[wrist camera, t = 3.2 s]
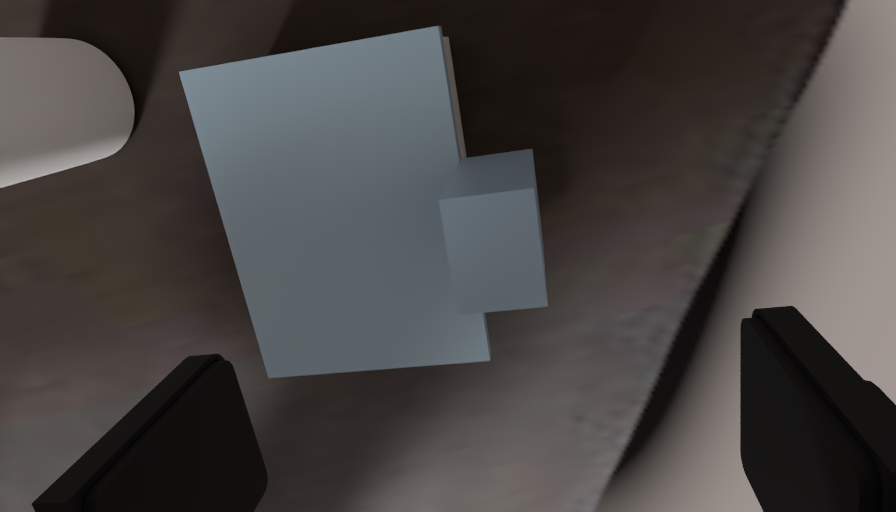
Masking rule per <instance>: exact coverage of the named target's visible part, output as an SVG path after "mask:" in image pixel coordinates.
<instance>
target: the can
mask: <svg viewBox="0 0 896 512" xmlns="http://www.w3.org/2000/svg"><path fill="white" fill-rule="evenodd" d="M133 124H134V102H133V97H132V94H131V90H130V88H129V85H128V83H127V81H126V79H125V77H124V75H123V74H122V72H121V71H120V69H119V68H118V67H117V65H116V64H115V63H114V62H113V61H112V60H111V59H110V58H109V57H108V56H107V55H106V54H105V53H103V52H102V51H101V50H99V49H98V48H96V47H94V46H92V45H90V44H88V43H86V42H83V41H80V40H75V39H68V38H0V188H2V187H5V186H9V185H13V184H16V183H20V182H23V181H27V180H30V179H34V178H37V177H41V176H44V175H48V174H51V173H55V172H59V171H62V170H66V169H69V168H72V167H76V166H79V165H83V164H86V163H90V162H93V161H96V160H100V159H103V158H106V157H108V156H110V155H112V154H114V153H116V152H117V151H118V150H120V149H121V148H122V147H123V145H124V144H125V143H126V141H127V140H128V138H129V136H130V134H131V131H132V128H133Z"/></svg>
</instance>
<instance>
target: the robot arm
mask: <svg viewBox="0 0 896 512" xmlns="http://www.w3.org/2000/svg"><path fill="white" fill-rule="evenodd" d="M740 450H741V459H742V464H743V468H744V471H745V474H746V476H747V478H748V480H749V482H750V484H751V487H752V488H753V491H754V493H755V495H756V497H757V499H758V501H759V503H760V505H761V507H762V509H763V511H764V512H896V405H895V404H894V403H893V402H892V401H891V400H890V399H889V398H888V397H887V396H886V395H885V393H884V392H882V390H881V389H880V388H879V387H877V386H876V385H875V384H874V383H872V382H871V381H866V380H863V379H862V377H861V376H860V375H859V374H858V373H857V372H856V371H855V370H854V369H853V368H852V367H851V366H850V365H849V364H848V363H847V362H846V361H845V360H844V359H843V358H842V356H841V355H839V353H838V352H837V351H836V350H835V349H834V348H833V347H832V346H831V345H830V344H829V343H828V342H827V341H826V340H825V339H824V338H823V336H821V334H820V333H819V332H818V331H817V330H816V329H815V328H814V327H813V326H812V325H811V324H810V323H809V322H808V321H807V320H806V319H805V318H804V316H803V315H802V314H801V313H800V312H799V311H798V310H797V309H796V308H795V307H793V306H786V307H774V308H762V309H755V310H754V311H753V314H752V318H744V319H743V320H742V322H741V449H740ZM267 480H268V479H267V471H266V468H265V465H264V461H263V458H262V455H261V452H260V449H259V446H258V443H257V439H256V436H255V433H254V430H253V427H252V424H251V421H250V418H249V414H248V411H247V408H246V405H245V402H244V399H243V396H242V393H241V389H240V386H239V383H238V380H237V377H236V374H235V371H234V368H233V365H232V364H231V363H230V362H229V361H225V359H224V358H223V357H222V356H221V355H219V354H211V355H199V356H189V357H187V358H186V359H185V360H183V361H182V362H181V363H180V364H179V365H178V366H177V367H176V368H175V369H174V370H173V371H172V372H171V373H170V374H169V375H168V376H167V377H165V378H164V379H163V380H162V381H161V382H160V383H159V384H158V385H157V386H156V387H155V388H154V389H153V390H152V391H151V392H150V393H148V394H147V395H146V396H145V397H144V398H143V399H142V400H141V401H140V402H139V403H138V404H137V405H136V406H135V407H134V408H133V409H132V410H130V411H129V412H128V413H127V414H126V415H125V416H124V417H123V418H122V419H121V420H120V421H119V422H118V423H117V424H116V425H115V426H113V427H112V428H111V429H110V430H109V431H108V432H107V433H106V434H105V435H104V436H103V437H102V438H101V439H100V440H99V441H98V442H97V443H95V444H94V445H93V446H92V447H91V448H90V449H89V450H88V451H87V452H86V453H85V454H84V455H83V456H82V457H81V458H80V459H79V460H77V461H76V462H75V463H74V464H73V465H72V466H71V467H70V468H69V469H68V470H67V471H66V472H65V473H64V474H63V475H62V476H60V477H59V478H58V479H57V480H56V481H55V482H54V483H53V484H52V485H51V486H50V487H49V488H48V489H47V490H46V491H45V492H44V493H42V494H41V495H40V496H39V497H38V498H37V499H36V500H35V501H34V502H33V503H32V506H33V508H34V510H35V512H254V510H255V508H256V506H257V505H258V503H259V501H260V500H261V498H262V496H263V494H264V492H265V490H266V487H267Z"/></svg>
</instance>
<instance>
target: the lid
mask: <svg viewBox="0 0 896 512" xmlns="http://www.w3.org/2000/svg"><path fill="white" fill-rule="evenodd" d="M179 74H180V78H181V81H182V84H183V88H184V91H185V95H186V98H187V102H188V105H189V108H190V112H191V115H192V119H193V122H194V125H195V129H196V132H197V136H198V139H199V143H200V146H201V149H202V153H203V156H204V160H205V163H206V166H207V170H208V173H209V177H210V180H211V183H212V187H213V190H214V194H215V197H216V201H217V204H218V207H219V211H220V214H221V218H222V221H223V224H224V228H225V231H226V235H227V238H228V242H229V245H230V248H231V252H232V255H233V259H234V262H235V265H236V269H237V272H238V276H239V279H240V283H241V286H242V289H243V293H244V296H245V300H246V303H247V306H248V310H249V313H250V317H251V320H252V324H253V327H254V330H255V334H256V337H257V341H258V344H259V347H260V351H261V354H262V358H263V361H264V365H265V368H266V371H267V375H268V378H279V377H291V376H304V375H317V374H329V373H342V372H355V371H367V370H380V369H393V368H405V367H418V366H431V365H443V364H456V363H469V362H481V361H490V357H491V348H490V342H489V335H488V329H487V322H486V316H485V312H496V311H507V310H518V309H528V308H539V307H548V302H547V288H546V275H545V262H544V249H543V237H542V228H541V219H540V211H539V202H538V193H537V184H536V176H535V167H534V158H533V149H526V150H519V151H512V152H505V153H497V154H490V155H483V156H476V157H469V158H461V153H460V146H459V140H458V133H457V127H456V120H455V114H454V107H453V101H452V94H451V88H450V81H449V75H448V68H447V62H446V55H445V49H444V42H443V36H442V29H441V26H434V27H429V28H423V29H417V30H412V31H406V32H401V33H395V34H389V35H384V36H378V37H373V38H367V39H361V40H356V41H350V42H344V43H339V44H333V45H328V46H322V47H316V48H311V49H305V50H299V51H294V52H288V53H283V54H277V55H271V56H266V57H260V58H254V59H249V60H243V61H238V62H232V63H226V64H221V65H215V66H209V67H204V68H198V69H193V70H187V71H181V72H179Z"/></svg>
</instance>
